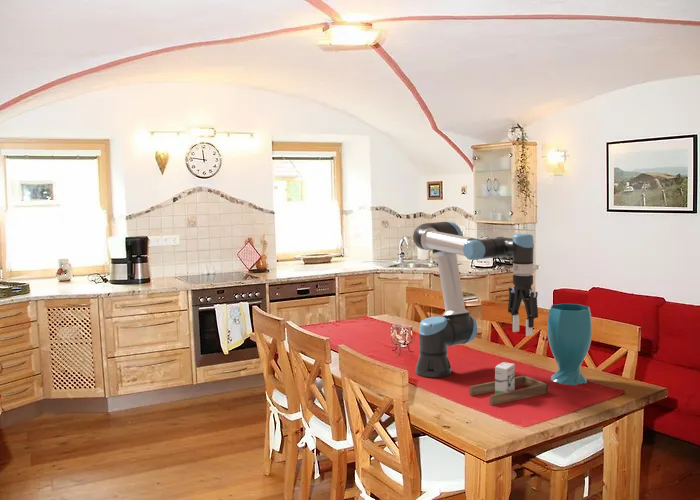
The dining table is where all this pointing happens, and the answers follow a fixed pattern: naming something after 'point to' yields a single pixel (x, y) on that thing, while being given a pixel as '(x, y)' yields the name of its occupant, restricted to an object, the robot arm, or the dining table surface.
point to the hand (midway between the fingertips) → (522, 333)
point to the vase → (569, 340)
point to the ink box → (504, 377)
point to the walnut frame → (532, 390)
